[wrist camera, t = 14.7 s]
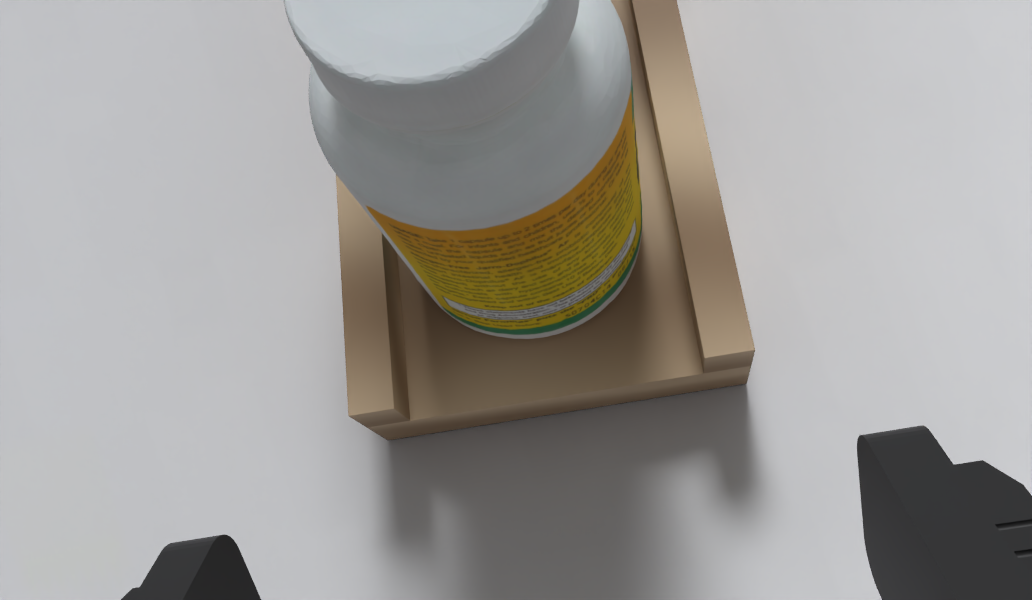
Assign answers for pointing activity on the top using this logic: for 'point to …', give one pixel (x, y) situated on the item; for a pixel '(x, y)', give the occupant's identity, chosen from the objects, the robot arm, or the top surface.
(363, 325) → the wooden box stand
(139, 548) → the top surface
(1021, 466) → the top surface
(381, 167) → the supplement bottle
